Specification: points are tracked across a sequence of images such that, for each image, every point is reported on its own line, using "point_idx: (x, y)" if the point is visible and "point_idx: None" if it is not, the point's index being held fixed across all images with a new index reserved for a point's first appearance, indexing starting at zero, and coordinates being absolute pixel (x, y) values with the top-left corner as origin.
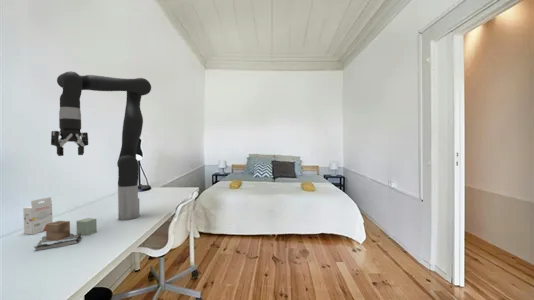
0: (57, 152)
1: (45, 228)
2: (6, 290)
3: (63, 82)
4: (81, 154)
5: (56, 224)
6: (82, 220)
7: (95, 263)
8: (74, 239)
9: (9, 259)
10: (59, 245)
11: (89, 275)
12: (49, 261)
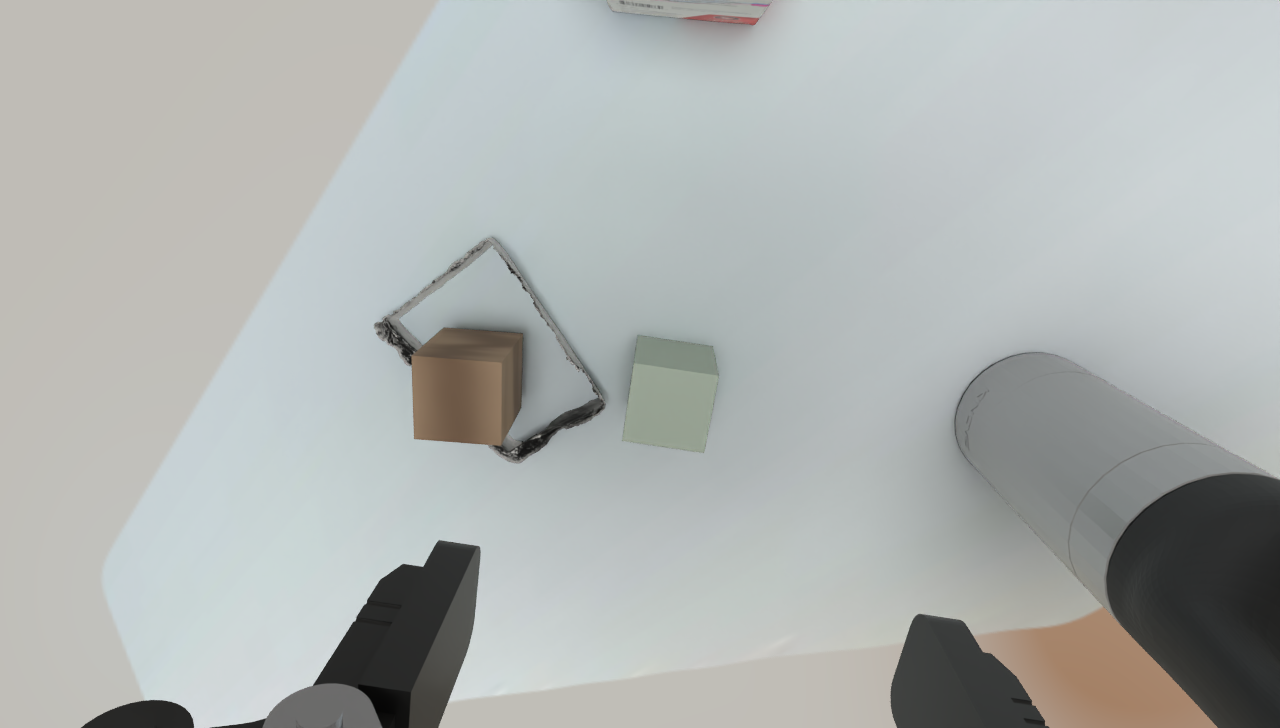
0: (372, 613)
1: (700, 18)
2: (115, 551)
3: None
4: (892, 706)
5: (426, 421)
6: (653, 391)
7: None
8: (498, 455)
9: (284, 295)
10: None
11: None
12: (315, 497)
